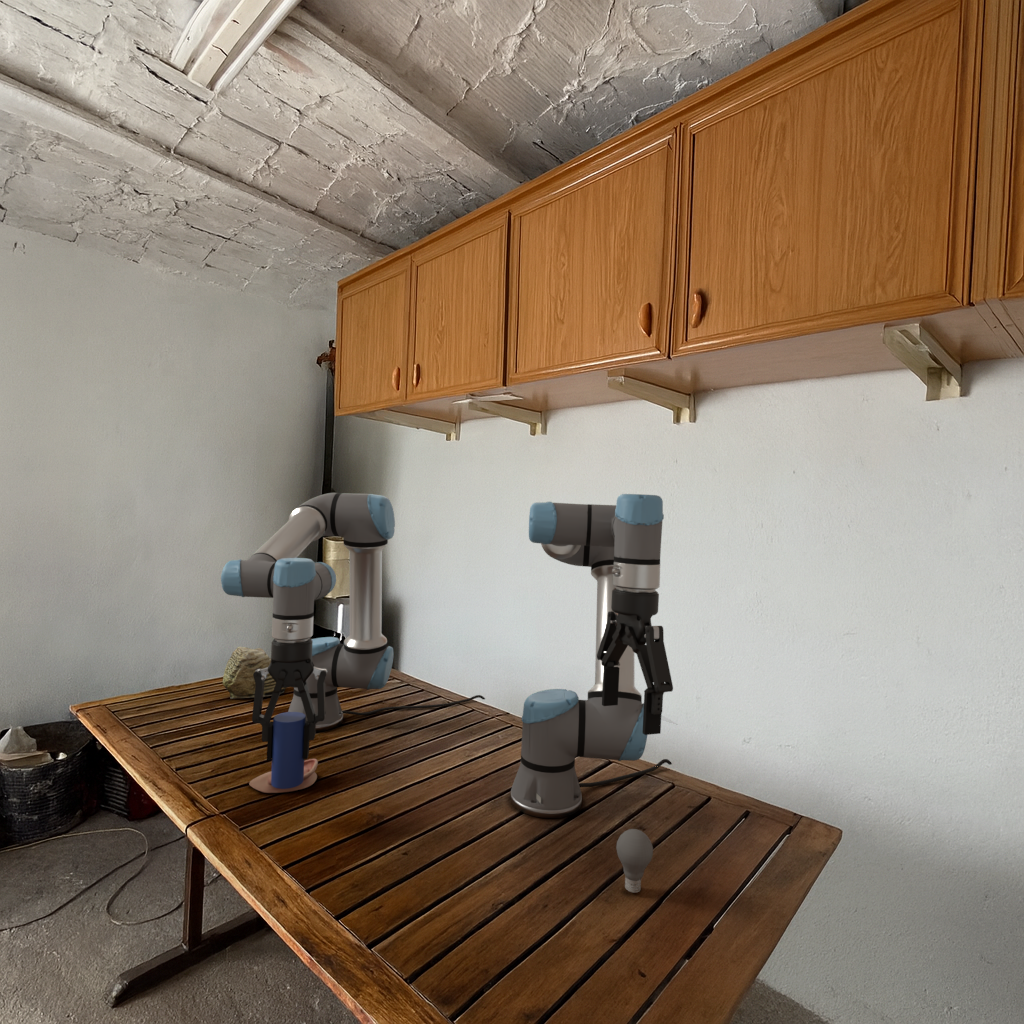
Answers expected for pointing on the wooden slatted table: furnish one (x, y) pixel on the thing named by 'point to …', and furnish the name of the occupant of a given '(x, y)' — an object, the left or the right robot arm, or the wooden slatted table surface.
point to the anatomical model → (265, 786)
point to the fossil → (247, 673)
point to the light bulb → (634, 857)
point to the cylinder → (288, 750)
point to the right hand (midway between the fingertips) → (629, 718)
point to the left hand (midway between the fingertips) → (288, 756)
